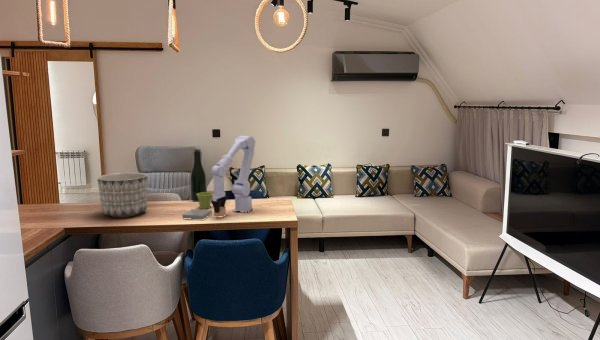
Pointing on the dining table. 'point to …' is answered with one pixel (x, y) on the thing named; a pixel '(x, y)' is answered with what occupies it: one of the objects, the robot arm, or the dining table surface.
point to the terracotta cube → (221, 212)
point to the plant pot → (204, 199)
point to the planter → (123, 193)
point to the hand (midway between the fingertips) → (219, 211)
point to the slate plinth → (197, 214)
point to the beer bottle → (197, 177)
